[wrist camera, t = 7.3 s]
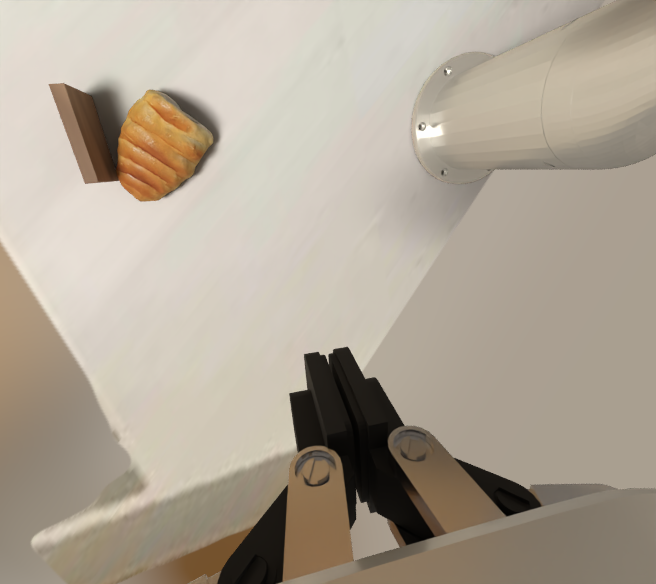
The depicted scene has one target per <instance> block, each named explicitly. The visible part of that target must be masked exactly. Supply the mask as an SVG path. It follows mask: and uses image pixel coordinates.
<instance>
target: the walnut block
mask: <svg viewBox="0 0 656 584" xmlns="http://www.w3.org/2000/svg"><path fill="white" fill-rule="evenodd" d="M49 86H50V89H51V92H52V95H53V97H54V100H55V103H56V105H57V108H58V111H59V114H60V116H61V119H62V122H63V125H64V127H65V130H66V133H67V135H68V138H69V141H70V144H71V146H72V149H73V152H74V155H75V157H76V160H77V163H78V166H79V168H80V171H81V174H82V176H83V179H84V182H85V184H88V183H99V182H110V181H119V179H118V177H117V173H116V169H115V166H114V163H113V160H112V157H111V154H110V151H109V148H108V145H107V141H106V138H105V135H104V132H103V129H102V126H101V123H100V120H99V117H98V114H97V111H96V108H95V105H94V102H93V99H92V96H91V95H88V94H86V93H84V92H82V91H80V90H77V89H75V88H73V87H71V86H69V85H66V84H64V83H61V84H49Z"/></svg>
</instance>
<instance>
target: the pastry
mask: <svg viewBox="0 0 656 584" xmlns="http://www.w3.org/2000/svg"><path fill="white" fill-rule="evenodd" d="M118 143H119V146H118V149H117V152H118V162H117V168H116V173H117V177H118V179H119V181H120V183H121V185H122V186H123V187H124V189H126V190H127V191H128V192H129V193H130V194H132V195H133V196H134V197H135V198H136V199H138V200H139V201H157V200H160V199H161V198H162V197H164V196H165V195H166V194H167V193H169V192H171V191H173V190H175V189H176V188H177V187H178V186H179V185H180V184H181V183H182V182H183V181H184V180H186V179H187V178H190V177H191V176H192V175H193V174H194V171H195V167H196V166H197V164H198V163H199V161H200V159H201V158H202V157H203V155H204V153H205V152H206V150H207V149H208V147H209V146H211V145H212V144H213V136H212V133H211V132H210V131H209V130H208V129H207V128H206V127H204V126H203V125H202V124H200V123H199V122H198V121H197V120H195V119H194V118H192V117H191V116H190V115H188V114H186V113H184V112H183V111H182V110H181V109H180V108H179V106H178V104H177V103H176V102H175V101H174V100H173V99H171V98H170V97H169V96H168V95H166V94H164V93H162V92H159V91H155V90H148V91H146V93H145V95H144V96H143V97H142V98H141V99H139V100H137V102H136V103H135V104H134V105H133V106H132V108H131V109H130V110H129V112H128V115H127V118H126V121H125V122H124V124H123V125H122V127H121V134H120V136H119V139H118Z"/></svg>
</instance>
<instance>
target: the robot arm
mask: <svg viewBox="0 0 656 584" xmlns="http://www.w3.org/2000/svg"><path fill="white" fill-rule="evenodd" d="M444 72H445V74H444ZM418 126H420V130H419V128H418ZM411 133H412V140H413V146H414V149H415V152H416V155H417V157H418V159H419V161H420V163H421V164H422V166H423V167H424V168H425V169H426V171H427V172H428V173H430V174H431V175H432V176H433V177H435V178H437V179H439V180H441V181H443V182H447V183H452V184H466V183H472V182H474V181H477V180H480V179H482V178H483V177H485V176H487V175H489V174H490V173H491V172H492V171H493V170H495V169H612V168H618V167H624V166H628V165H631V164H634V163H637V162H640V161H643V160H645V159H647V158H649V157H651V156H653V155H655V154H656V0H616V1H614V2H612V3H610V4H608V5H606V6H603V7H601V8H599V9H597V10H595V11H593V12H591V13H589V14H587V15H585V16H582V17H580V18H578V19H576V20H574V21H572V22H570V23H567V24H565V25H563V26H561V27H559V28H557V29H554V30H552V31H550V32H548V33H546V34H544V35H542V36H539V37H537V38H535V39H533V40H531V41H529V42H527V43H524V44H522V45H520V46H518V47H516V48H514V49H511V50H509V51H507V52H505V53H503V54H501V55H499V56H496V57H494V56H492V55H489V54H486V53H482V52H470V53H465V54H461V55H459V56H456V57H454V58H452V59H450V60H449V61H447V62H445V63H444V64H442V65H441V66H440V67H439V68H437V69H436V70H435V71H434V72H433V73H432V74H431V76H430V77H429V78H428V79H427V81H426V82H425V84H424V85H423V87H422V89H421V91H420V93H419V95H418V97H417V100H416V103H415V106H414V110H413V116H412V128H411ZM441 171H442V174H441ZM304 361H305V370H306V380H307V389H308V390H305V391H299V392H294V393H289V394H290V403H291V410H292V417H293V425H294V431H295V438H296V444H297V451H298V454H297V455H295V456H294V458H293V460H292V461H291V463H290V467H289V477H288V485H287V486H286V487H285V489H284V490H283V491H282V492H281V494H280V495H279V496H278V498H277V499H276V500H275V501H274V503H273V504H272V505H271V506H270V508H269V509H268V510H267V511H266V513H265V514H264V515H263V516H262V518H261V519H260V520H259V521H258V523H257V524H256V525H255V526H254V528H253V529H252V530H251V531H250V533H249V534H248V535H247V537H246V538H245V539H244V540H243V542H242V543H241V544H240V545H239V547H238V548H237V549H236V550H235V552H234V553H233V554H232V555H231V557H230V558H229V559H228V561H227V562H226V564H225V565H224V567H223V569H222V570H221V572H219V573H217V574H215V575H213V576H211V577H210V578H208V579H207V576H206V574H205V575H203V576H201V577H200V578H198V579H196V580H194V581H192V582H190V583H188V584H656V489H655V488H651V489H650V488H649V489H648V488H629V489H616V488H613V487H611V486H608V485H603V484H547V485H546V484H545V485H531V486H530V489H526V488H524V487H523V486H521V485H519V484H517V483H515V482H513V481H510V480H508V479H506V478H503V477H500V476H498V475H496V474H493V473H491V472H488V471H485V470H483V469H481V468H478V467H476V466H473V465H471V464H468V463H466V462H463V461H461V460H458V459H456V458H453V457H452V456H451V455H450V454H449V452H448V451H447V450H446V449H445V448H444V447H443V446H442V444H441V443H440V442H439V441H438V440H437V439H436V438H435V437H434V436H433V435H432V434H431V433H430V432H429V431H427V430H425V429H423V428H420V427H417V426H404V424H403V423H402V421H401V419H400V417H399V416H398V414H397V412H396V410H395V409H394V407H393V405H392V404H391V402H390V400H389V399H388V397H387V395H386V393H385V392H384V391H383V388H382V387H381V385H380V383H379V382H378V380H377V379H376V378H368V379H365V378H364V376H363V374H362V372H361V370H360V368H359V366H358V365H357V363H356V361H355V359H354V357H353V355H352V353H351V351H350V349H349V348H348V347H344V348H338V349H334V350H333V353H331V354H329V364H328V362H327V359H326V356H325V355H320V354H319V352H314V353H309V354H304ZM356 490H357V492H358V496H359V499H360V501H361V503H363V502H367V504H368V507H369V510H370V513H374V512H377V513H378V514H380V515H382V516H383V517H385V518H387V521H388V525H389V527H390V530H391V532H392V534H393V535H394V537H395V539H396V541H397V543H398V545H399V547H400V548H396V549H393V550H389V551H386V552H383V553H379V554H376V555H372V556H369V557H365V558H362V559H359V560H355V561H354V559H353V551H352V542H351V534H350V529H351V528H352V526H353V524H354V522H355V520H356Z"/></svg>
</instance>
